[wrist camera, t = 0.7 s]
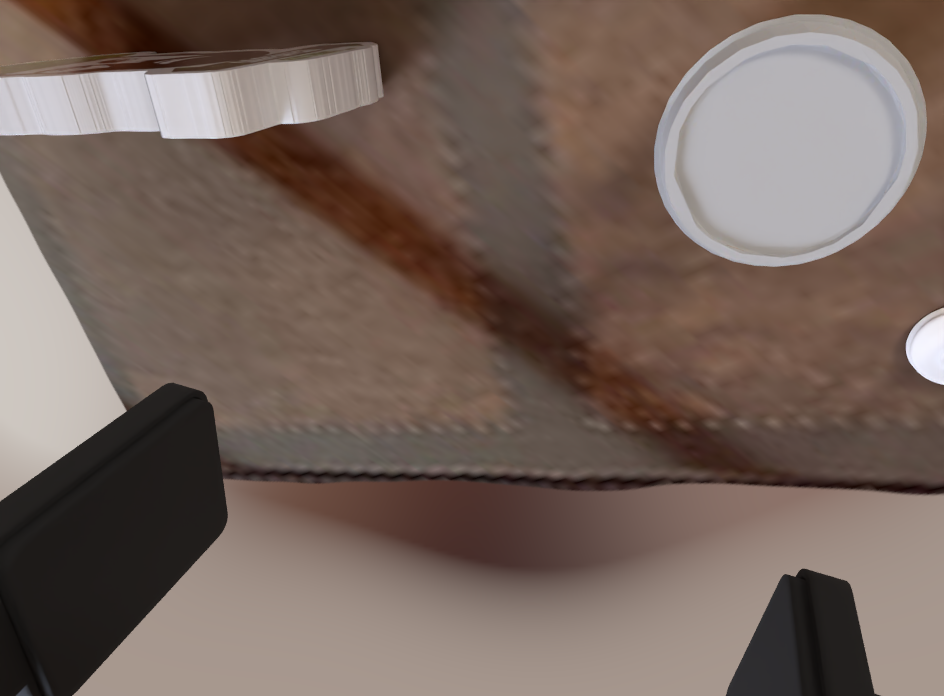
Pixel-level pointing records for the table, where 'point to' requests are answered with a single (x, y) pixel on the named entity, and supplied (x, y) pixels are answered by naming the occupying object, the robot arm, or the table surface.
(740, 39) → the disposable coffee cup
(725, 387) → the table surface
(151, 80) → the cutout
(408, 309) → the table surface
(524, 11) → the table surface
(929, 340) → the chess piece
